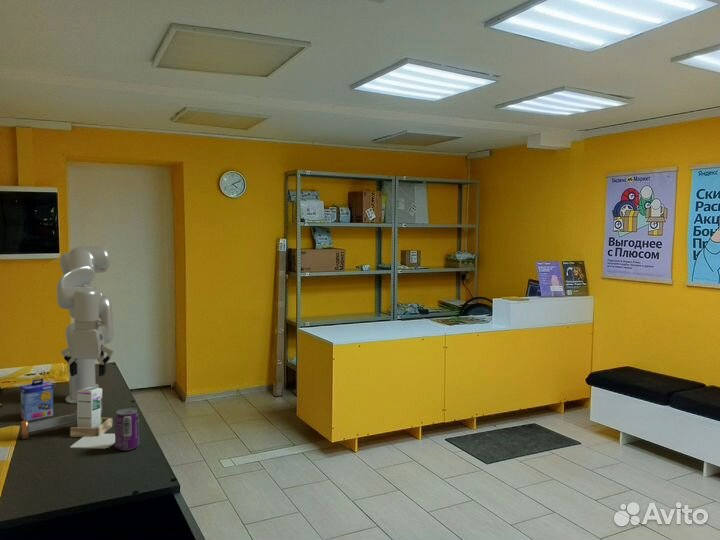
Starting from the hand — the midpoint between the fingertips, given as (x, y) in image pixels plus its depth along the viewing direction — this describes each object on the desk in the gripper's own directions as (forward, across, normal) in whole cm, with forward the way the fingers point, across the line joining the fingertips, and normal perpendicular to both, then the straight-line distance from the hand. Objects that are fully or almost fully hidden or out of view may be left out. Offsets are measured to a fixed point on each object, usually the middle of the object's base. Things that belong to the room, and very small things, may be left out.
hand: (88, 375), depth 196 cm
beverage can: (+20, -19, +14) cm, 31 cm away
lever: (+19, +12, +1) cm, 23 cm away
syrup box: (+20, 0, 0) cm, 20 cm away
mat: (+20, -7, +9) cm, 23 cm away
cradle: (+20, 0, 0) cm, 20 cm away
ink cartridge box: (+20, +26, -14) cm, 36 cm away
